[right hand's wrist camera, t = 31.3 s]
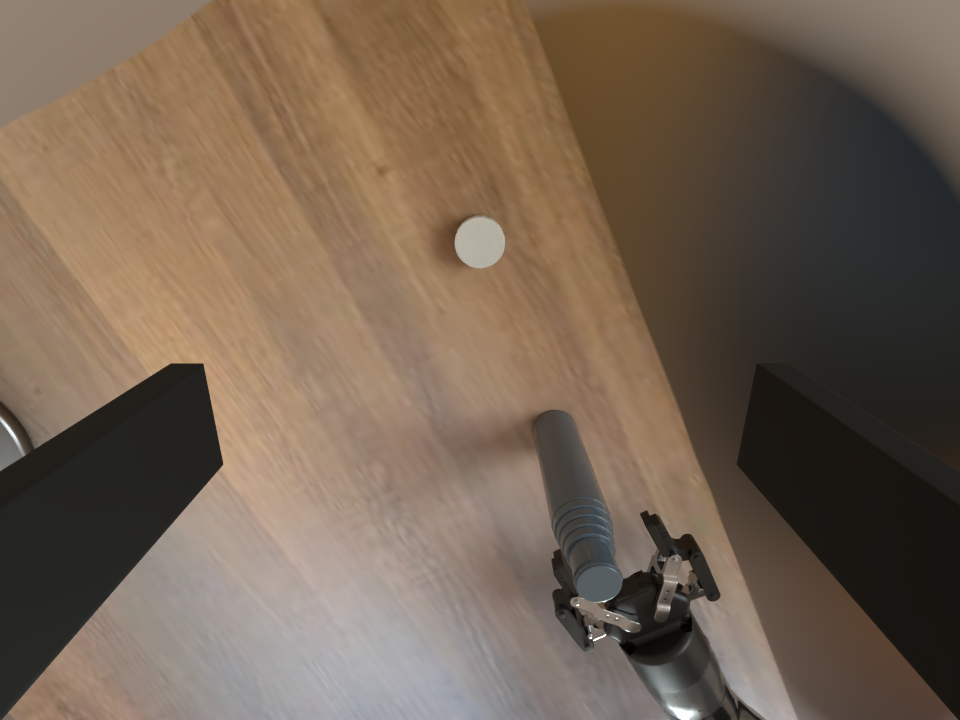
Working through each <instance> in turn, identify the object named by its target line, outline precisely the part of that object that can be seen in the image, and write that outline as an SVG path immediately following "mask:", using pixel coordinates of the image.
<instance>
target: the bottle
mask: <svg viewBox="0 0 960 720" xmlns="http://www.w3.org/2000/svg"><path fill="white" fill-rule="evenodd" d="M533 436H534V441H535V446H536V451H537V456H538V461H539V466H540V471H541V476H542V481H543V486H544V491H545V496H546V501H547V506H548V511H549V516H550V521H551V526H552V530H553V532H554V535H555V538H556V540H557V542H558V544H559V546H560V548H561V550H562V553H563V555H564V556H565V558H566V561H567V563H568V565H569V566H570V567H571V569H572V573H573V584H574V587H575V588H576V590H577V592H578V594H579V595H580V596H581V597H582V598H583V599H585V600H587V601H590V602H605V601H608V600H610V599H612V598H614V597H615V596H616V595H617V594H618V593H619V591H620V590H621V587H622V581H623V577H622V573H621V571H620V570H619V569H618V566H617V563H616V560H615V547H614V538H613V525H612V521H611V516H610V512H609V510H608V507H607V505H606V502H605V499H604V497H603V494H602V491H601V489H600V486H599V483H598V481H597V478H596V475H595V473H594V470H593V467H592V465H591V462H590V459H589V457H588V454H587V451H586V449H585V446H584V444H583V441H582V438H581V436H580V433H579V430H578V428H577V425H576V422H575V420H574V419H573V417H572V416H571V415H569V414H568V413H566V412H563V411H559V410H553V411H548V412H546V413H544V414H542V415H541V416H540V417H539V418H538V419H537V420H536V421H535V423H534V426H533Z"/></svg>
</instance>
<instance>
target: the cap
mask: <svg viewBox="0 0 960 720" xmlns="http://www.w3.org/2000/svg"><path fill="white" fill-rule="evenodd" d="M504 237H505V235H504V234H503V231H502V228H501V227H500V226H499V224H498V223H497V221H495V220H493V219H492V218H491V217H487V216H483V215H475V216H472V217H470V218H469V217H468V219H466V220H465V221H464V222H462V223H461V225H460V226H459V228H457V233H456V235H455V237H454V238H455V244H454V246H455V249H456V253H457V254H458V256H459V258H460V259H461V260H462V261H463V262H464V263H465V264H467V265H469V266H471V267H474V268H486V267H489V266H491V265H493V264H494V263H495V262H497V261H498V260H499V258H500V257H501V255H502V254H503V252H504V247H505V238H504Z"/></svg>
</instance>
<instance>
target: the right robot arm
mask: <svg viewBox="0 0 960 720" xmlns="http://www.w3.org/2000/svg"><path fill="white" fill-rule="evenodd" d="M222 465H223V460H222V455H221V450H220V445H219V440H218V435H217V430H216V425H215V420H214V415H213V410H212V405H211V400H210V395H209V390H208V385H207V380H206V375H205V370H204V365H203V364H169V365H168V366H166V367H165V368H163V369H162V370H160V371H158V372H157V373H155V374H154V375H152V376H150V377H149V378H147V379H146V380H144V381H142V382H141V383H139V384H138V385H136V386H135V387H133V388H131V389H130V390H128V391H127V392H125V393H123V394H122V395H120V396H119V397H117V398H115V399H114V400H112V401H111V402H109V403H108V404H106V405H104V406H103V407H101V408H100V409H98V410H96V411H95V412H93V413H92V414H90V415H89V416H87V417H85V418H84V419H82V420H81V421H79V422H77V423H76V424H74V425H73V426H71V427H69V428H68V429H66V430H65V431H63V432H62V433H60V434H58V435H57V436H55V437H54V438H52V439H50V440H49V441H47V442H46V443H44V444H42V445H41V446H39V447H38V448H36V449H35V450H34V447H33V445H32V442H31V440H30V438H29V436H28V434H27V432H26V431H25V429H24V428H23V426H22V425H21V423H20V422H19V421H18V420H17V418H16V417H15V416H14V415H13V414H12V413H11V412H10V411H9V410H8V409H7V408H6V407H5V406H4V405H3V404H1V403H0V720H2V719H3V717H4V716H5V715H6V714H7V713H8V712H9V711H10V710H11V708H12V707H13V706H14V705H15V704H16V703H17V701H18V700H19V699H20V698H21V697H22V696H23V695H24V693H25V692H26V691H27V690H28V689H29V688H30V686H31V685H32V684H33V683H34V682H35V681H36V680H37V678H38V677H39V676H40V675H41V674H42V673H43V672H44V670H45V669H46V668H47V667H48V666H49V665H50V663H51V662H52V661H53V660H54V659H55V658H56V657H57V655H58V654H59V653H60V652H61V651H62V650H63V648H64V647H65V646H66V645H67V644H68V643H69V642H70V640H71V639H72V638H73V637H74V636H75V635H76V634H77V632H78V631H79V630H80V629H81V628H82V627H83V625H84V624H85V623H86V622H87V621H88V620H89V619H90V617H91V616H92V615H93V614H94V613H95V612H96V610H97V609H98V608H99V607H100V606H101V605H102V604H103V602H104V601H105V600H106V599H107V598H108V597H109V596H110V594H111V593H112V592H113V591H114V590H115V589H116V587H117V586H118V585H119V584H120V583H121V582H122V581H123V579H124V578H125V577H126V576H127V575H128V574H129V572H130V571H131V570H132V569H133V568H134V567H135V566H136V564H137V563H138V562H139V561H140V560H141V559H142V558H143V556H144V555H145V554H146V553H147V552H148V551H149V549H150V548H151V547H152V546H153V545H154V544H155V543H156V541H157V540H158V539H159V538H160V537H161V536H162V534H163V533H164V532H165V531H166V530H167V529H168V528H169V526H170V525H171V524H172V523H173V522H174V521H175V520H176V518H177V517H178V516H179V515H180V514H181V513H182V511H183V510H184V509H185V508H186V507H187V506H188V505H189V503H190V502H191V501H192V500H193V499H194V498H195V496H196V495H197V494H198V493H199V492H200V491H201V490H202V488H203V487H204V486H205V485H206V484H207V483H208V482H209V480H210V479H211V478H212V477H213V476H214V475H215V473H216V472H217V471H218V470H219V469H220V468H221V467H222ZM737 465H738V467H739V468H740V469H741V470H742V471H743V472H744V473H745V475H746V476H747V477H748V478H749V479H750V480H751V482H752V483H753V484H754V485H755V486H756V487H757V488H758V490H759V491H760V492H761V493H762V494H763V495H764V496H765V498H766V499H767V500H768V501H769V502H770V503H771V504H772V506H773V507H774V508H775V509H776V510H777V511H778V513H779V514H780V515H781V516H782V517H783V518H784V519H785V521H786V522H787V523H788V524H789V525H790V526H791V528H792V529H793V530H794V531H795V532H796V533H797V534H798V536H799V537H800V538H801V539H802V540H803V541H804V543H805V544H806V545H807V546H808V547H809V548H810V549H811V551H812V552H813V553H814V554H815V555H816V556H817V558H818V559H819V560H820V561H821V562H822V563H823V564H824V566H825V567H826V568H827V569H828V570H829V571H830V572H831V574H832V575H833V576H834V577H835V578H836V579H837V581H838V582H839V583H840V584H841V585H842V586H843V587H844V589H845V590H846V591H847V592H848V593H849V594H850V596H851V597H852V598H853V599H854V600H855V601H856V602H857V604H858V605H859V606H860V607H861V608H862V609H863V610H864V612H865V613H866V614H867V615H868V616H869V617H870V619H871V620H872V621H873V622H874V623H875V624H876V625H877V626H878V628H879V629H880V630H881V631H882V632H883V634H884V635H885V636H886V637H887V638H888V639H889V640H890V642H891V643H892V644H893V645H894V646H895V647H896V648H897V650H898V651H899V652H900V653H901V654H902V655H903V657H904V658H905V659H906V660H907V661H908V662H909V663H910V665H911V666H912V667H913V668H914V669H915V670H916V671H917V673H918V674H919V675H920V676H921V677H922V678H923V680H924V681H925V682H926V683H927V684H928V685H929V686H930V688H931V689H932V690H933V691H934V692H935V693H936V694H937V696H938V697H939V698H940V699H941V700H942V701H943V703H944V704H945V705H946V706H947V707H948V708H949V710H950V711H951V712H952V713H953V714H954V715H955V716H956V718H957V719H958V720H960V471H959V470H957V469H956V468H954V467H952V466H951V465H949V464H948V463H946V462H944V461H943V460H941V459H940V458H938V457H937V456H935V455H933V454H932V453H930V452H929V451H927V450H925V449H924V448H922V447H921V446H919V445H917V444H916V443H914V442H913V441H911V440H910V439H908V438H906V437H905V436H903V435H902V434H900V433H898V432H897V431H895V430H894V429H892V428H891V427H889V426H887V425H886V424H884V423H883V422H881V421H879V420H878V419H876V418H875V417H873V416H871V415H870V414H868V413H867V412H865V411H864V410H862V409H860V408H859V407H857V406H856V405H854V404H852V403H851V402H849V401H848V400H846V399H844V398H843V397H841V396H840V395H838V394H837V393H835V392H833V391H832V390H830V389H829V388H827V387H825V386H824V385H822V384H821V383H819V382H817V381H816V380H814V379H813V378H811V377H810V376H808V375H806V374H805V373H803V372H802V371H800V370H798V369H797V368H795V367H794V366H792V365H791V364H757V365H756V370H755V375H754V380H753V385H752V390H751V395H750V400H749V405H748V410H747V415H746V420H745V425H744V430H743V435H742V441H741V445H740V450H739V455H738V460H737Z"/></svg>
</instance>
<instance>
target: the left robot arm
mask: <svg viewBox="0 0 960 720" xmlns="http://www.w3.org/2000/svg"><path fill="white" fill-rule="evenodd" d="M640 515H641V517H642V519H643V522H644V524H645V526H646V528H647V530H648V532H649V533H650V535H651V537H652V539H653V541H654V542H655V544H656V546H657V550H656V554H655V555H652V557H651V561H650V564H649V567H648V570H647V572H642V570H641V571H638V572H636V573H634V574H633V575H631V576H630V577H628V578H626V579H623V581H622V587H621V590H620V591H619V593H618V594H617V595H616V596H615V597H614V598H612V599H610V600H608V601H605V602H590V601H587V600H585V599H583V598H582V597H581V596H580V595H579V594H578V592H577V590H576V588H575V587H574V584H573V573H572V569H571V567H570V566H569V565H568V563H567V561H566V558H565V556H564V555H563V553H562V550H561V549H558V550H556V551H554V558H553V559H552V566H553V572H554V576H555V577H556V579H557V580H558V582H559V583H560V585H561V586H562V589H556V590H554V591H553V593H552V596H553V600H554V605H555V614H556V617H557V618H558V620H559V621H560V622H561V623H562V625H563V626H564V627H565V628H566V630H567V631H568V632H569V634H570V635H571V636H572V637H573V639H574V640H575V641H576V642H577V644H578V645H579V646H580V648H581V649H582V650H583V651H586V652H588V651H591V650H593V648H594V644H593V641H594V640H597V639H599V638H601V637H603V636H605V635H608V636H609V637H611V638H613V639H615V640H616V641H617V642H618V644H619V646H620V647H621V649H622V650H623V652H624V653H625V655H626V657H627V658H628V660H629V661H630V663H631V664H632V666H633V668H634V669H635V671H636V672H637V674H638V675H639V677H640V678H641V680H642V682H643V683H644V685H645V686H646V688H647V689H648V691H649V692H650V694H651V695H652V696H653V697H654V699H655V700H656V701H657V702H658V703H659V704H660V705H661V707H662V708H663V710H664V711H665V713H666V715H667V716H668V718H669V719H670V720H766V719H765V718H764V717H762V716H761V715H760V714H759V713H758V712H757V711H755V710H754V709H753V708H751V707H750V706H748V705H747V704H746V703H745V702H743V701H742V700H741V699H740V698H739V697H738V696H737V695H736V694H735V693H734V692H733V690H732V689H731V687H730V685H729V684H728V682H727V680H726V678H725V677H724V675H723V673H722V671H721V669H720V666H719V663H718V660H717V658H716V656H715V653H714V652H713V650H712V648H711V646H710V643H709V640H708V639H707V637H706V636H705V635H704V634H703V632H702V630H701V628H700V626H699V625H698V623H697V621H696V619H695V617H694V616H693V614H692V612H691V610H690V608H689V607H690V601H691V600H694V599H697V598H700V597H702V596H705V595H706V597H707V599H708V600H709V601H716V600H718V599H719V598H720V593H719V590H718V588H717V586H716V583H715V581H714V578H713V576H712V574H711V571H710V569H709V567H708V564H707V562H706V560H705V557H704V555H703V553H702V552H701V550H700V548H699V546H698V545H697V543H696V541H695V539H694V538H693V536H692V535H691V534H684V535H683V536H682V537H681V538H680V539H673V538H671V537H670V535H669V533H668V532H667V530H666V528H665V526H664V524H663V522H662V520H661V519H660V517H659V516H658V515H656V514H653V515H651V516H650V515H649V513H648V511H644V512H642V513H640ZM686 560H689V562H690V565H691V567H692V569H693V570H690V571H689V574H690V575H689V576H688V583H687V585H685V586H682V585H681V584H680V583H677V574H678V571H679V568H680V565H681V562H682V561H686ZM577 608H578V609H581V610H584V611H587V612H590V613H591V614H592V616H593V617H595V618H596V619H599V620H601V621H593V620H592V619H591V618H588V615H586V614H585V615H583V616H582V614H581V613H580V612H579V610H578V609H577Z"/></svg>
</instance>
